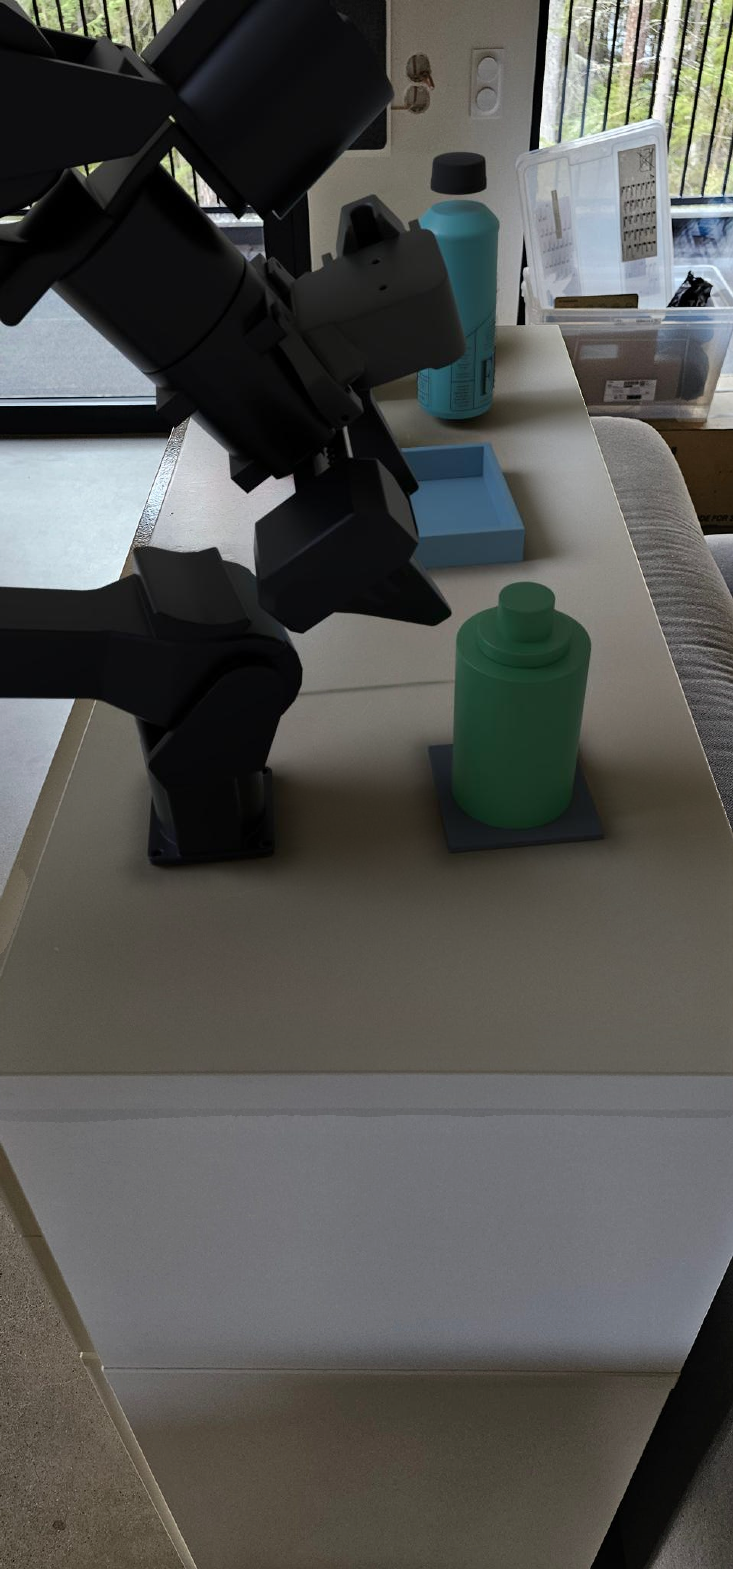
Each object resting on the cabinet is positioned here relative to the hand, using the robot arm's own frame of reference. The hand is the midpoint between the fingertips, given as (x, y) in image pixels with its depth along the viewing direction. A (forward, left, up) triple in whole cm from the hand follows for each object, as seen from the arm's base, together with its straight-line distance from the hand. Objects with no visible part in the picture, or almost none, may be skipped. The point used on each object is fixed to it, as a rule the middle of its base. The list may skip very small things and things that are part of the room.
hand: (426, 552), depth 52 cm
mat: (-3, -4, -14) cm, 14 cm away
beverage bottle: (+43, -8, -14) cm, 46 cm away
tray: (+26, -3, -14) cm, 30 cm away
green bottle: (-3, -4, -13) cm, 14 cm away
